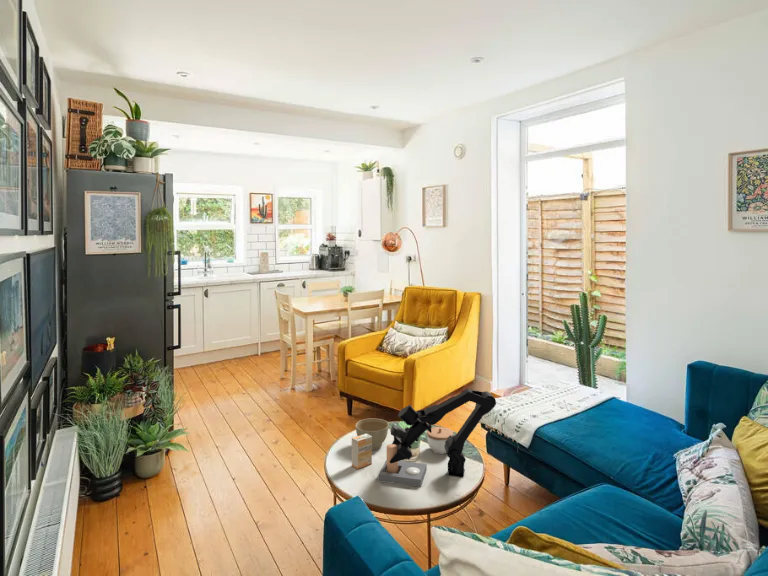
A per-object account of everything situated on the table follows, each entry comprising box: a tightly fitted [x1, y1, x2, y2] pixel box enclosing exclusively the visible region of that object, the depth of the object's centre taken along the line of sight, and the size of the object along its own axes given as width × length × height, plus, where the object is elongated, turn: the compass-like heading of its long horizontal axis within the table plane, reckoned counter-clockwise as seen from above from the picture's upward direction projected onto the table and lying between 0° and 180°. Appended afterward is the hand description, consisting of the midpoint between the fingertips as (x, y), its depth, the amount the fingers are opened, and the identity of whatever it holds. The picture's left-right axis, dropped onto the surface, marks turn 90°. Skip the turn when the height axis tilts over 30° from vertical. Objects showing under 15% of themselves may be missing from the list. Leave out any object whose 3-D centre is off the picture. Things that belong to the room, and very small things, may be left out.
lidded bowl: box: [426, 426, 454, 455], centre depth 226 cm, size 13×13×11 cm
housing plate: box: [378, 459, 428, 488], centre depth 203 cm, size 18×14×3 cm
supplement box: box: [351, 434, 373, 470], centre depth 212 cm, size 8×5×13 cm, turn 130°
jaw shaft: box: [386, 443, 399, 474], centre depth 202 cm, size 5×5×13 cm
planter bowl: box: [355, 417, 389, 450], centre depth 231 cm, size 16×16×11 cm
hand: (389, 457), depth 202 cm, fingers open, 9 cm apart
